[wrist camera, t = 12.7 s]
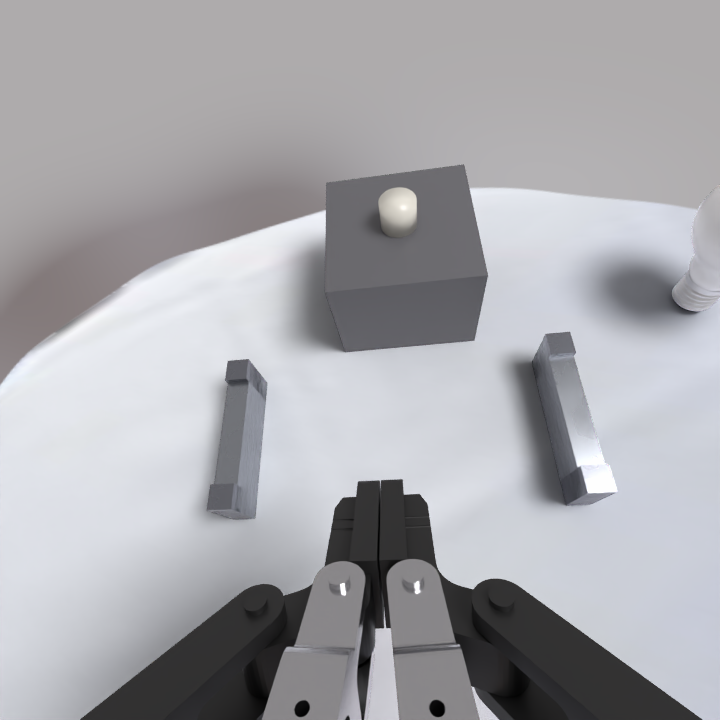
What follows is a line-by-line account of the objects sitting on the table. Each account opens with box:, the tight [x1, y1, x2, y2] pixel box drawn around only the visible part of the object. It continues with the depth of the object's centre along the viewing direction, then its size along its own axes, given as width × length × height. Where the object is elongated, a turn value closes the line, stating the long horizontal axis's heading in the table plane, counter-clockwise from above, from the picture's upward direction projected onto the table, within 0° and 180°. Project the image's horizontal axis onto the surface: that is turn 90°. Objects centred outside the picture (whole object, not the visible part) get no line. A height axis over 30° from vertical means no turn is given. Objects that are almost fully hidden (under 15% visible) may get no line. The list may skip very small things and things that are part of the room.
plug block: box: [325, 165, 488, 352], centre depth 31 cm, size 10×10×10 cm
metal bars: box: [207, 332, 617, 519], centre depth 28 cm, size 23×10×4 cm, turn 91°
